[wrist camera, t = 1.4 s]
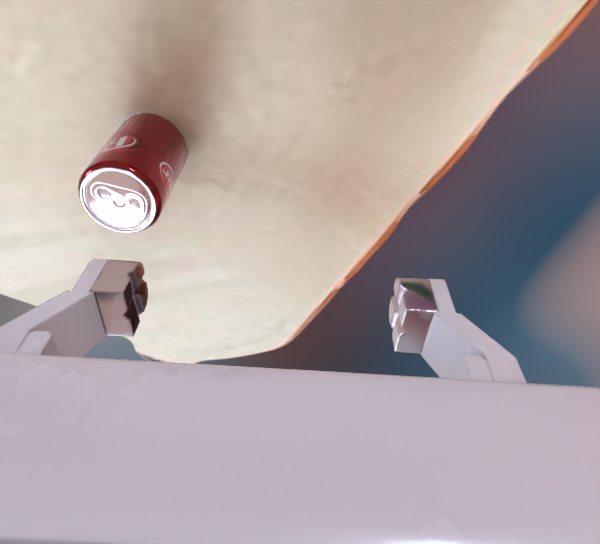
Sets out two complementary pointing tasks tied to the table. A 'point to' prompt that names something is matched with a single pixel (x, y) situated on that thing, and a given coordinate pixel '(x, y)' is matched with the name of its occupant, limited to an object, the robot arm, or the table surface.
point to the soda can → (133, 174)
